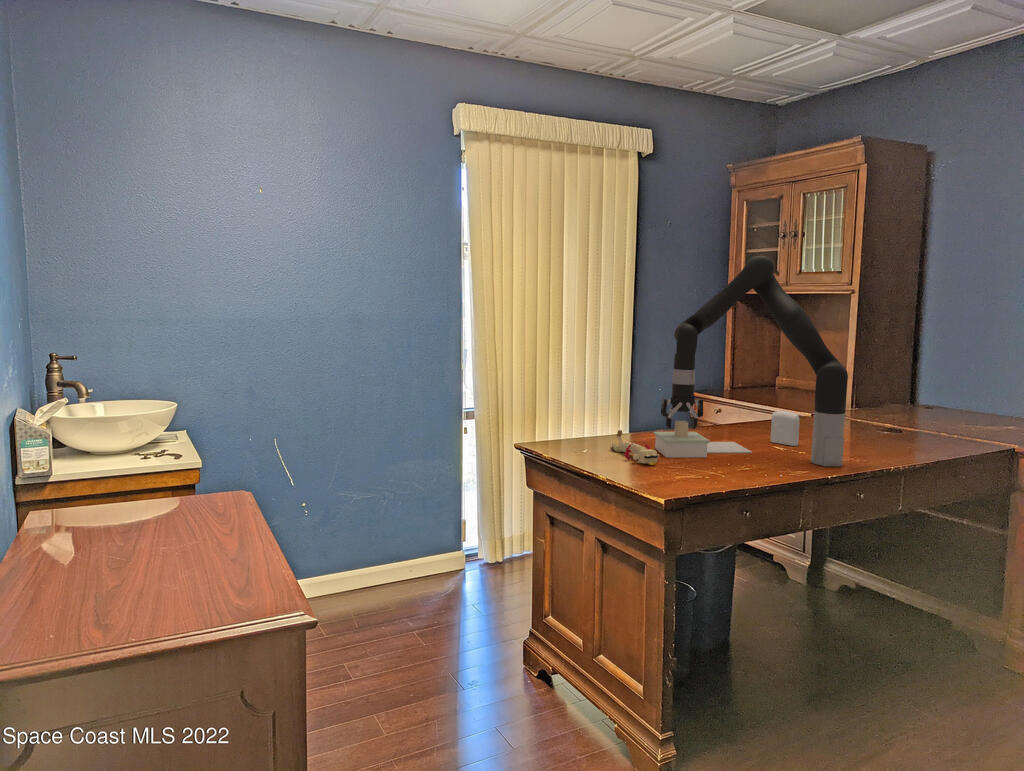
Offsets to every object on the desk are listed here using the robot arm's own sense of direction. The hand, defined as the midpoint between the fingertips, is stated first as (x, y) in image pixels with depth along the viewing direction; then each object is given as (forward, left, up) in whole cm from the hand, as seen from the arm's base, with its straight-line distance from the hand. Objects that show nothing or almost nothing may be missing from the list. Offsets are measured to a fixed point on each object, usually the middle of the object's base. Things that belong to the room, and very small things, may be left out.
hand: (681, 428), depth 245 cm
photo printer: (+15, -44, -9) cm, 47 cm away
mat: (+8, -17, -9) cm, 21 cm away
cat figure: (-8, +18, -9) cm, 21 cm away
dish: (0, 0, -9) cm, 9 cm away
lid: (0, 0, -4) cm, 4 cm away
